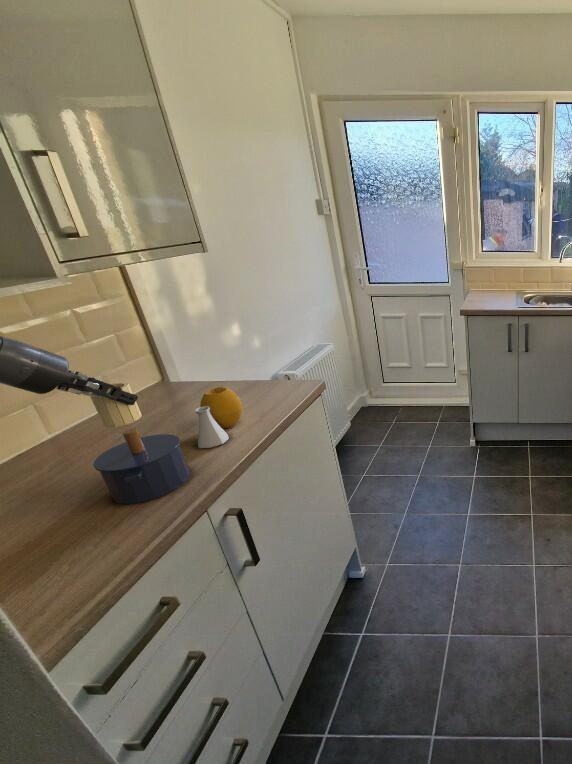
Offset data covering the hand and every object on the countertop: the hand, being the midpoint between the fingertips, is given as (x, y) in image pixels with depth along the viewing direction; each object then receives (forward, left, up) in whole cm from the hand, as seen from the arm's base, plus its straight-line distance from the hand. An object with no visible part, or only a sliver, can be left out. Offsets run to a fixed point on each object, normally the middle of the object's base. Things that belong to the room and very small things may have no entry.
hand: (124, 398), depth 87 cm
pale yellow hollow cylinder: (-1, -1, -4) cm, 5 cm away
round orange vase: (+13, +24, -21) cm, 34 cm away
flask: (+10, +15, -21) cm, 28 cm away
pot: (-1, 0, -21) cm, 21 cm away
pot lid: (-1, 0, -13) cm, 13 cm away
